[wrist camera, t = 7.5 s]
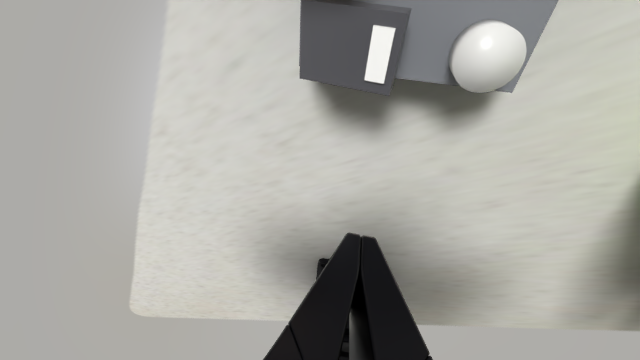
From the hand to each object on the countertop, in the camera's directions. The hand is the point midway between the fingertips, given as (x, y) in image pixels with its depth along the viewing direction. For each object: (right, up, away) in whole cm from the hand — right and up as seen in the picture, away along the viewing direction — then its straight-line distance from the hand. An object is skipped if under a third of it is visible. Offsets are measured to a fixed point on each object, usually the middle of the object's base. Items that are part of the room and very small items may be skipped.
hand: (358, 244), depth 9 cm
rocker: (0, +8, +3) cm, 8 cm away
